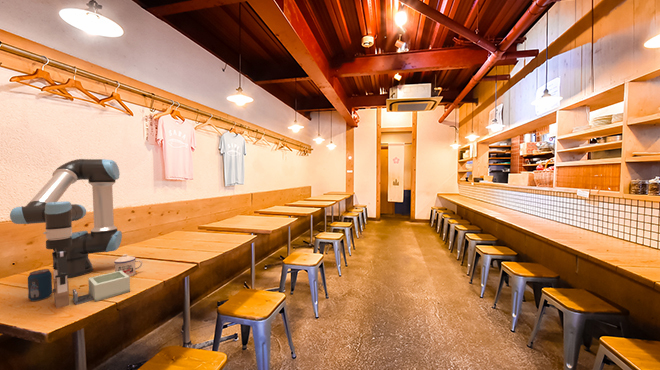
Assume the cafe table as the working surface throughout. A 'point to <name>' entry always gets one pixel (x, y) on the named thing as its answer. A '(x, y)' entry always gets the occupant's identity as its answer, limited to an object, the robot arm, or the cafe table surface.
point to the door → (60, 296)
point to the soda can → (39, 285)
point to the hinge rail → (81, 297)
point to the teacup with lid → (126, 264)
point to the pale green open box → (109, 285)
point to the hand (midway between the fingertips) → (60, 288)
